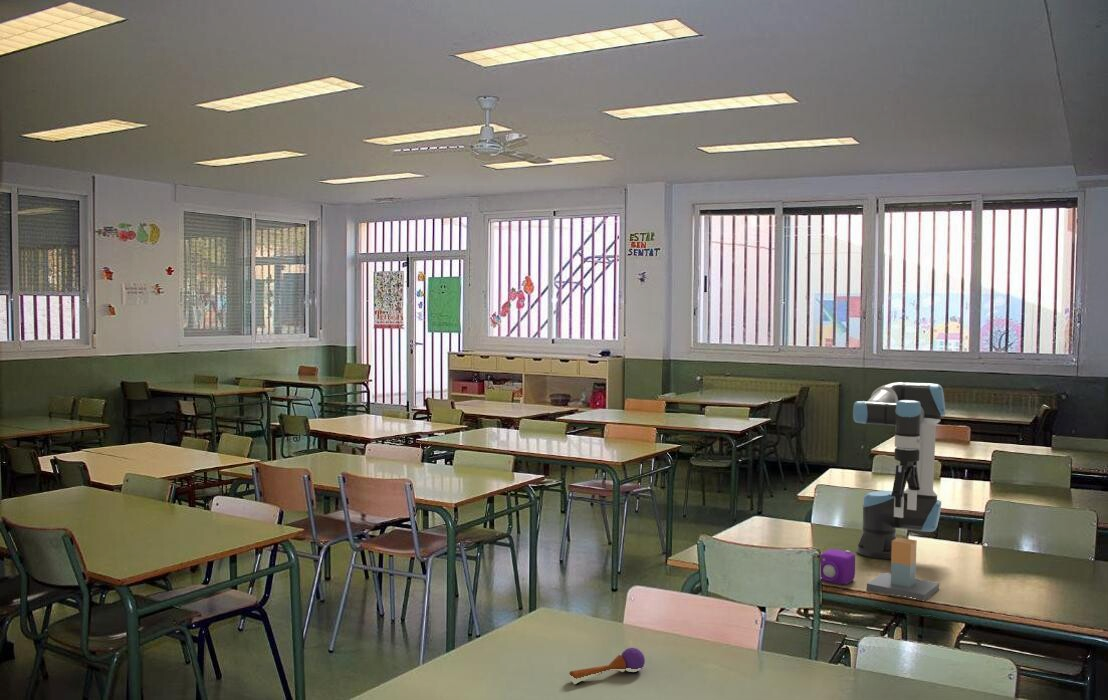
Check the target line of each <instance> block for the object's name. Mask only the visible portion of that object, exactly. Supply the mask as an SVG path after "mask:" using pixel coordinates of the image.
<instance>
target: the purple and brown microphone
mask: <svg viewBox="0 0 1108 700" xmlns="http://www.w3.org/2000/svg"><path fill="white" fill-rule="evenodd" d="M645 662H646V659H645V656H644V654H643V652H642V651H641V650H640V649H638V648H637V647H628V648H626V649H625V650H624V651H622V652H621V654H618V655H617V656H616V657H615V658H614V659H613V660H612V661H611V662H610V663H609V664H607V665H601V666H594V667H588V668H583V669H582V668H581V669H576V670H570V671H569V674H570V675H571V676H573V677H574V678H576V679H577V678H581V677H584V676H588V675H591V674H596V673H599V672H602V671H606V670H608V671H611V670H610V669H626V668H631V669H638V668H642V667H643V668H644V666H645ZM643 668H642V669H643ZM606 672H607V671H606ZM569 674H568V675H569Z"/></svg>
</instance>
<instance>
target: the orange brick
mask: <svg viewBox="0 0 1108 700" xmlns="http://www.w3.org/2000/svg"><path fill="white" fill-rule="evenodd" d="M917 545H918V544H917V540H915V539H910V538H905V537H904V538H903V537H896V539H894V540H892V551H891V559H890V560H891V562H893V563H898V564H904V565H909V566H910V565H912V564H913V563H915V562H916V563H917ZM891 562H890V563H891Z"/></svg>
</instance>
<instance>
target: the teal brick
mask: <svg viewBox="0 0 1108 700" xmlns="http://www.w3.org/2000/svg"><path fill="white" fill-rule="evenodd" d="M916 565H917V561H916V562H915V563H913V564H912V565H910V566H909V565H904V564H898V563H893V562H890V574H891V584H895V585H901V586H906V587H911V586H912V585H913V584H915V579H916V574H917V573H916V570H917V568H916Z"/></svg>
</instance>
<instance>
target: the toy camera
mask: <svg viewBox="0 0 1108 700" xmlns="http://www.w3.org/2000/svg"><path fill="white" fill-rule="evenodd" d="M820 556H821V577H822V580H821V581H825V582H828V583H834V584H837V585H847V584H848V583H850V582H852V581H853V580H854V579H855V578H856V555H855V554H854V553H853V552H851V550H848V549H847V550H841V549H833V548H832V549H831V548H829V549H828V550H826V551H824V552H822V553H821V554H820Z"/></svg>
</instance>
